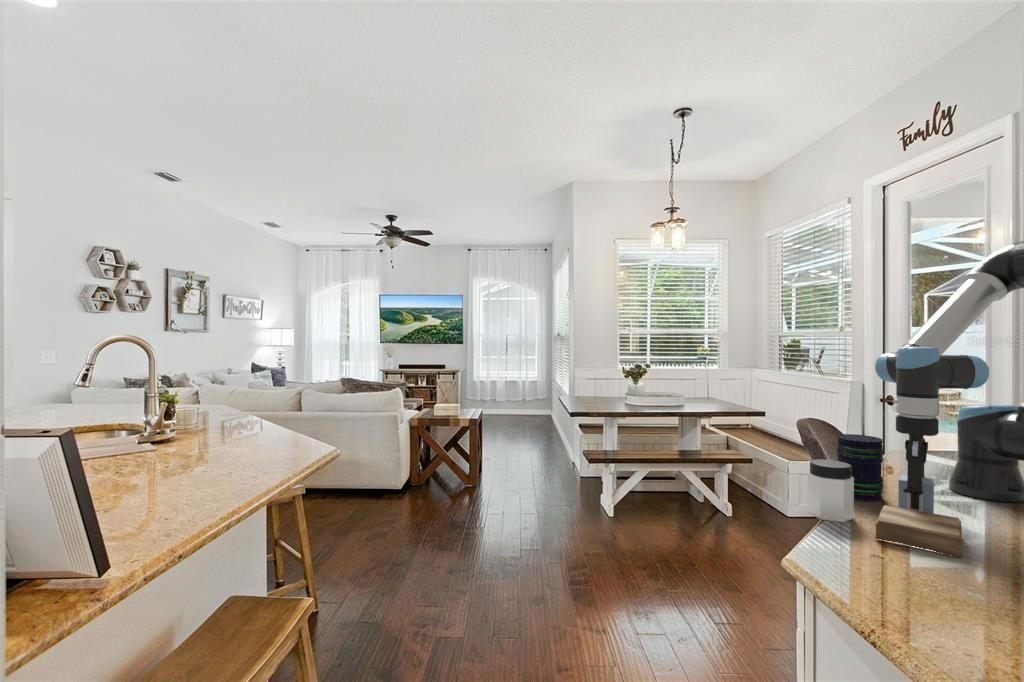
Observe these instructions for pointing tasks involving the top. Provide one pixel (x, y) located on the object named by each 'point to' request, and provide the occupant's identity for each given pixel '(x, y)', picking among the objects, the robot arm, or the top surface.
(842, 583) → the top surface
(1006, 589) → the top surface
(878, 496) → the dark blue upright cylinder
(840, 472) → the jar
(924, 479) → the slate block
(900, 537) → the base block
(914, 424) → the robot arm
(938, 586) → the top surface
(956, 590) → the top surface
